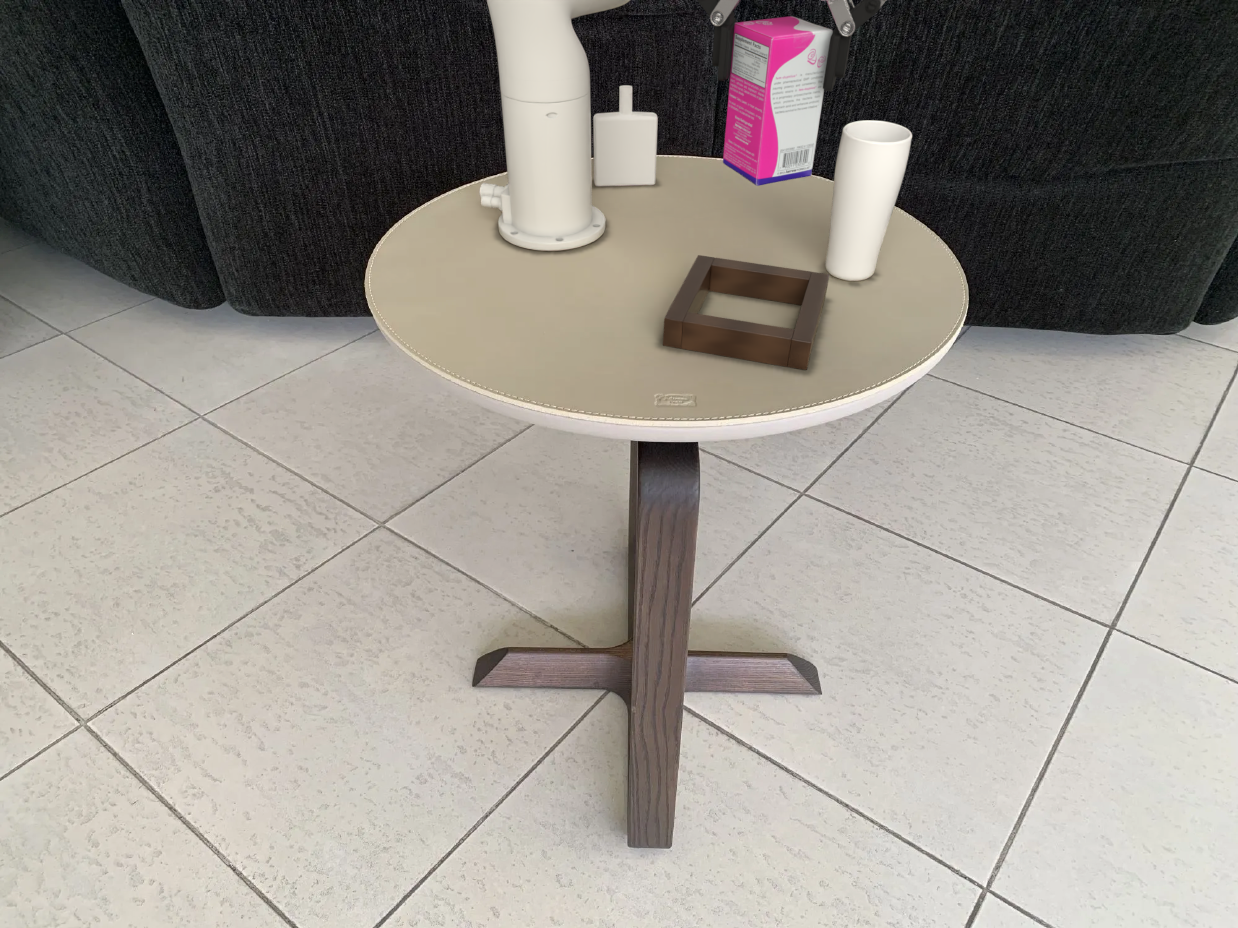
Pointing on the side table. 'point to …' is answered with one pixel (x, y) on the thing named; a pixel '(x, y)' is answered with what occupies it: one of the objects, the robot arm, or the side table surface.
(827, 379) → the side table surface
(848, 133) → the drinking glass
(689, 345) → the socket
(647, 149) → the perfume bottle
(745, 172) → the supplement box
